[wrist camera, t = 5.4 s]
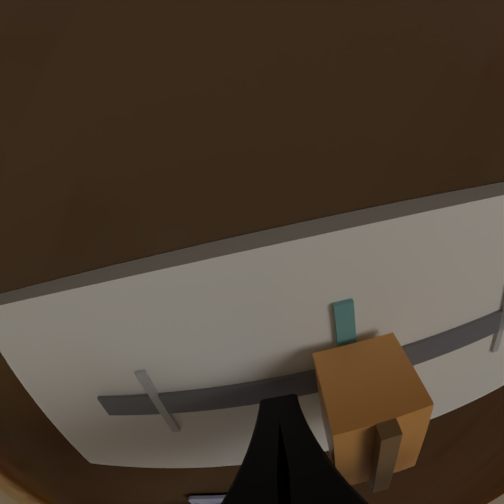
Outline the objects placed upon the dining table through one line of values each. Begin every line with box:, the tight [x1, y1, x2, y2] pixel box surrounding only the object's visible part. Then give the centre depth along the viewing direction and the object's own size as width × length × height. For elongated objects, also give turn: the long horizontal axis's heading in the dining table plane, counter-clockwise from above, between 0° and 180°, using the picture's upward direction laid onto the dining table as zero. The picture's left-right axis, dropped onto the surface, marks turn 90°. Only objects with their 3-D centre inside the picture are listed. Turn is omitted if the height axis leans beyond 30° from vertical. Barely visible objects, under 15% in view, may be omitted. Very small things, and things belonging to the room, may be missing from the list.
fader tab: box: [312, 332, 434, 493], centre depth 9 cm, size 4×3×4 cm
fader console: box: [0, 182, 504, 468], centre depth 13 cm, size 12×28×2 cm, turn 103°
